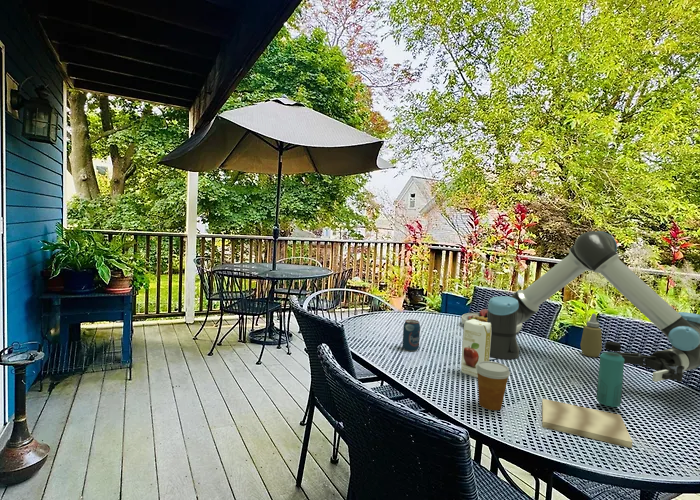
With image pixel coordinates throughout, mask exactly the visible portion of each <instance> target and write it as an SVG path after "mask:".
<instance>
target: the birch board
mask: <svg viewBox="0 0 700 500" xmlns="http://www.w3.org/2000/svg"><path fill="white" fill-rule="evenodd" d="M541 406H542V407H541V413H542V414H541V415H542V418H541V419H542V423H541V424H542V425H541V427H542V428H546V429H551V430H554V431H558V432H563V433H565V434H566V433H567V434H571V435H576V436H580V437H582V438H583V437H584V438H588V439H593V440H596V441H602V442H604V443H605V442H606V443H610V444H613V445H618V446H622V447H627V448H629V449H630V448H631V449H632V448H633V439H632V438H631V436H630V433H629V431H628V429H627V427H626V424H625V422H624V419H623V417H622V415H621V414H618V413H613V412H608V411H603V410H599V409H594V408H589V407H584V406H579V405H575V404H569V403H565V402H561V401H560V402H559V401H556V400H551V399H545V398H542V401H541Z"/></svg>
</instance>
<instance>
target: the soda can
mask: <svg viewBox="0 0 700 500" xmlns="http://www.w3.org/2000/svg"><path fill="white" fill-rule="evenodd" d="M402 330H403V331H402V348H403V349H404V351H406V352H416V351H418V350H419V348H420V336H421V334H420V332H421V325H420V321H418V320H417V319H406V320H405V322H404V323H403V329H402Z"/></svg>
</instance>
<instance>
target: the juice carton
mask: <svg viewBox="0 0 700 500" xmlns="http://www.w3.org/2000/svg"><path fill="white" fill-rule="evenodd" d="M490 344H491V323H488V322H481V321H479V320H475V319H471V320H468V321H465V324H463V331H462V345H461V346H462V347H461V359H460V360H461V361H460V367H461V368H460V369H461V373H462V374H465V375H467V376H471V377H473V378H474V377H475V378H477V379H478V374H477V370H476V367H477V365H478V363H479V362H482V361H490V357H491V356H490Z"/></svg>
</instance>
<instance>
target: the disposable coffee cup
mask: <svg viewBox="0 0 700 500" xmlns="http://www.w3.org/2000/svg"><path fill="white" fill-rule="evenodd" d="M476 370H477V374H478V378H477V387H478V388H477V389H478V391H477V392H478V404H479V406H480V407H482V408H483V409H486V410H489V411H500V410H501V409H502V407H503V401H504V397H505V393H506V389H507V384H508V380H509V377H510V375H511V372H510V369H509V367H508V365H505V364H503V363H500V362H496V361H492V360H491V361H490V360H489V361H482V362H479V363H478V365H477V367H476Z"/></svg>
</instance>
